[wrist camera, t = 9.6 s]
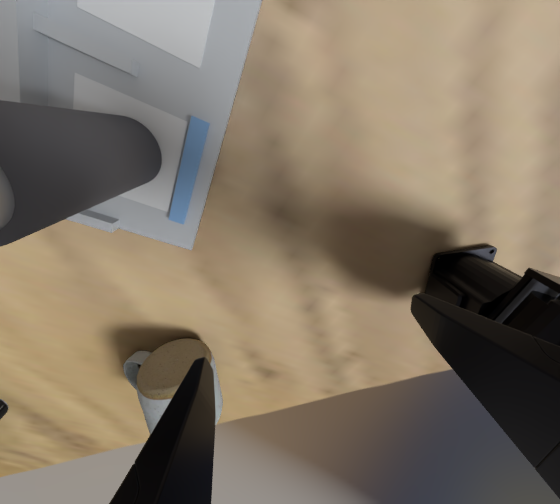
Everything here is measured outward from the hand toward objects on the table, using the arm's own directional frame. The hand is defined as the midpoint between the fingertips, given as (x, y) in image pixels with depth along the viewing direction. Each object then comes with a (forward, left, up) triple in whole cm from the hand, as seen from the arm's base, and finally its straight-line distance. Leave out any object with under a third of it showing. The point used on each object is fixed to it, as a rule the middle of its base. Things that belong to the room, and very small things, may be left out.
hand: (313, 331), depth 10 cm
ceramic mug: (+14, +15, -13) cm, 24 cm away
